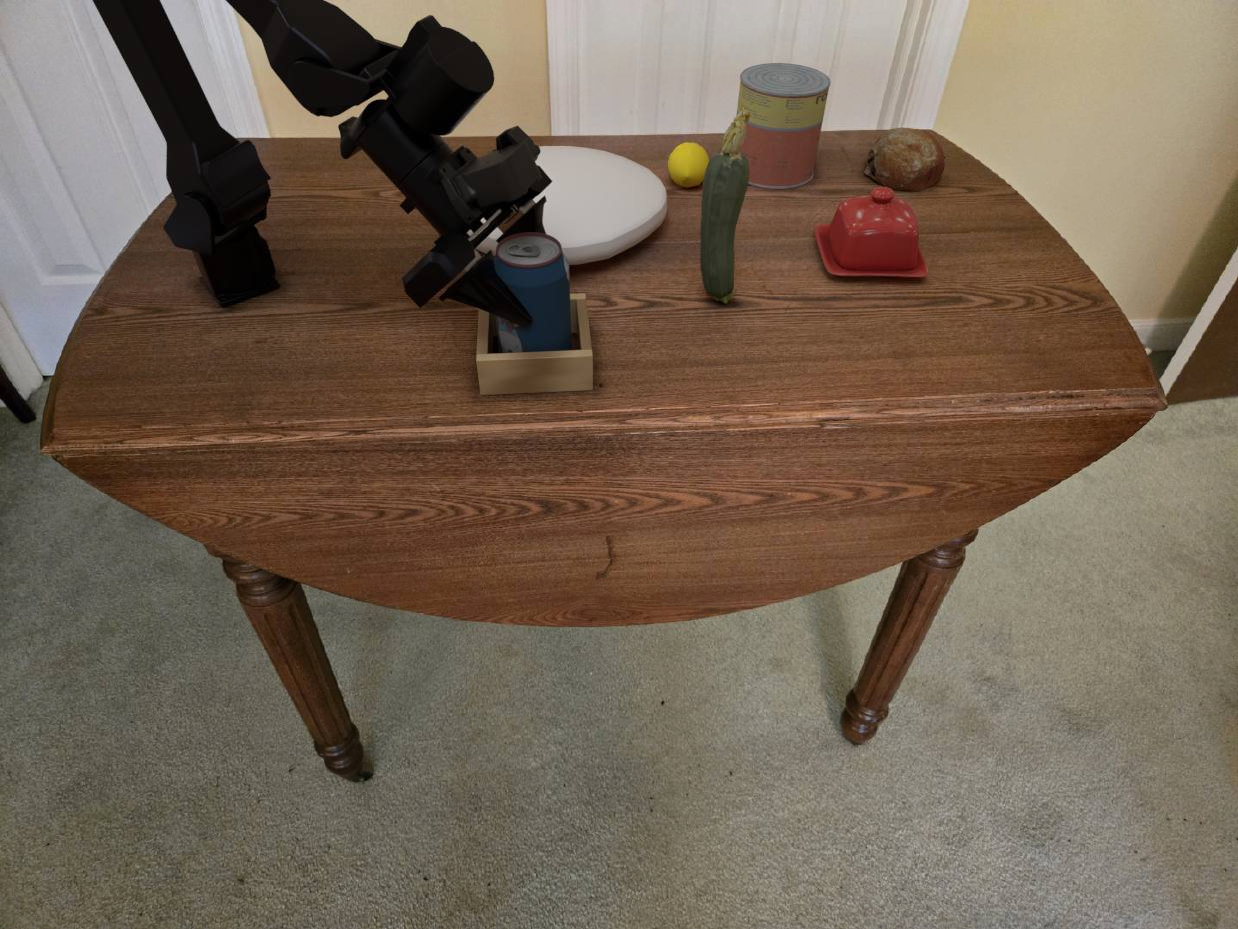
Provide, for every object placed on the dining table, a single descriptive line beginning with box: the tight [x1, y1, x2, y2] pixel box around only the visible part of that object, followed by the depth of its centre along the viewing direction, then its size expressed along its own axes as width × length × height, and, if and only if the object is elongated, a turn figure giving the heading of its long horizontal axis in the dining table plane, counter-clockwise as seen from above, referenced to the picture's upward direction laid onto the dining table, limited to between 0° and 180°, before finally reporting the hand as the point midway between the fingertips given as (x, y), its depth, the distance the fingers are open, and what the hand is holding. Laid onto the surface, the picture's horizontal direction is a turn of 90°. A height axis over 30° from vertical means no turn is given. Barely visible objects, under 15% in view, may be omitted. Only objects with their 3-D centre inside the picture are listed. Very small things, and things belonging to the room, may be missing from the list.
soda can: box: [493, 232, 573, 353], centre depth 75 cm, size 7×7×12 cm
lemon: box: [667, 141, 710, 189], centre depth 106 cm, size 7×5×5 cm
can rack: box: [475, 292, 594, 396], centre depth 78 cm, size 10×10×4 cm
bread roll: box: [864, 127, 946, 192], centre depth 109 cm, size 10×10×8 cm
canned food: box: [736, 62, 832, 190], centre depth 107 cm, size 11×11×12 cm
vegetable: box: [699, 107, 751, 304], centre depth 81 cm, size 4×4×20 cm
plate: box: [467, 145, 668, 266], centre depth 97 cm, size 28×6×27 cm
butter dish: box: [813, 186, 929, 278], centre depth 91 cm, size 12×12×8 cm
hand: (546, 304), depth 74 cm, fingers closed on soda can, 7 cm apart
